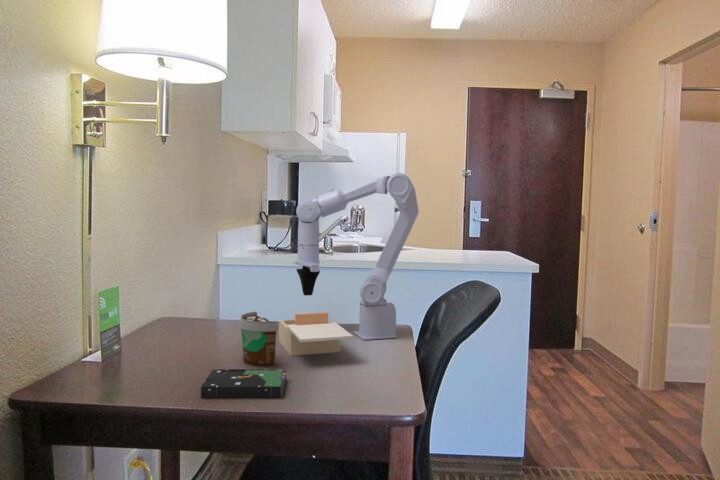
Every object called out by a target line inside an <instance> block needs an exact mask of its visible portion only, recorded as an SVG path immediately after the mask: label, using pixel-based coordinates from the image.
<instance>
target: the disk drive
mask: <svg viewBox="0 0 720 480" xmlns="http://www.w3.org/2000/svg"><path fill="white" fill-rule="evenodd" d="M286 383H287V370H285V369H284V370H283V369H274V368H273V369H272V368H271V369H263V368H261V369H257V368H256V369H255V368H254V369H250V368H249V369H248V368H247V369H245V368H244V369H238V368H237V369H236V368H235V369H234V368H233V369H230V368H229V369H225V368H224V369H223V368H221V369H219V368H218V369H211V371H210V373H209V375H207V377H206V378H205V382H202V384H201V386H200V399H282V398H283V395H284V390H285V387H286Z"/></svg>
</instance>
